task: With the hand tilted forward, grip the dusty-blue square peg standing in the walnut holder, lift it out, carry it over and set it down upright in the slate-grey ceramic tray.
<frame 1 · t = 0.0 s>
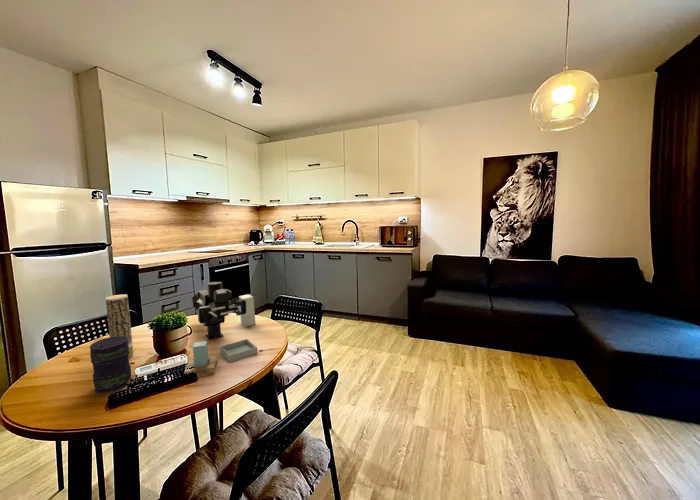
hand: (229, 315, 115), 17 cm above the table, tool horizontal, fingers open, 9 cm apart
dark grey cylinder: (113, 385, 97), on the table
peg: (201, 357, 105), in the holder
holder: (202, 370, 106), on the table
skincare box: (247, 324, 152), on the table
bark covered log: (123, 357, 117), on the table
tray: (238, 352, 119), on the table
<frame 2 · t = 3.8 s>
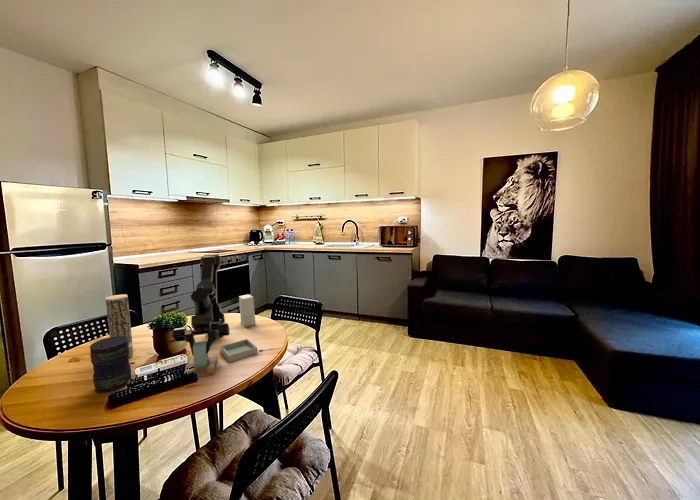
hand: (200, 354, 104), 7 cm above the table, tool tilted 45°, fingers closed on peg, 4 cm apart
peg: (201, 357, 105), in the holder, touching gripper
everything else where it was.
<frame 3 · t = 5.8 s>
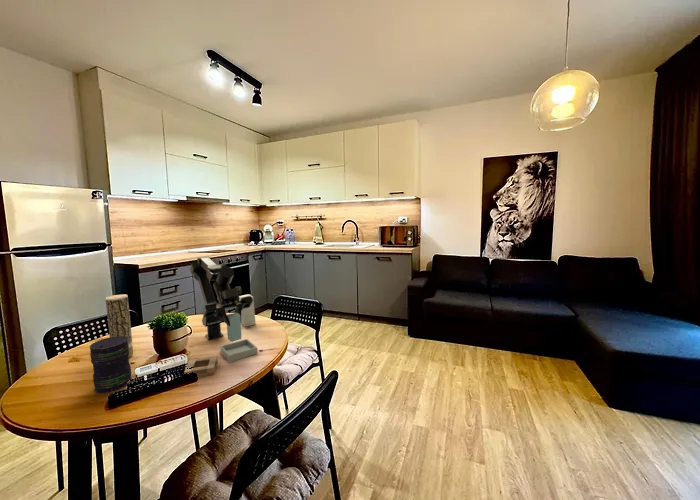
hand: (235, 324, 115), 13 cm above the table, tool tilted 45°, fingers closed on peg, 4 cm apart
peg: (233, 326, 116), point 12 cm above the table, touching gripper
everything else where it was.
when the fingers open (8 cm above the table, at t = 7.6 s): peg stays where it is, resting on tray.
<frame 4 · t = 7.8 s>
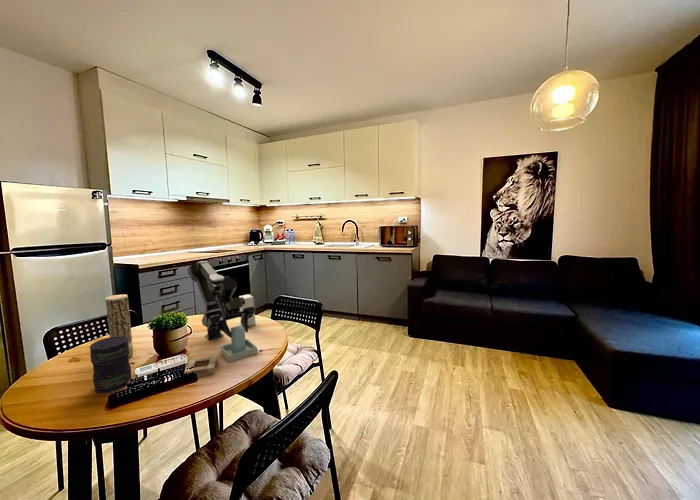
hand: (239, 334, 117), 8 cm above the table, tool tilted 45°, fingers open, 6 cm apart
peg: (238, 339, 118), in the tray, point 6 cm above the table
everything else where it was.
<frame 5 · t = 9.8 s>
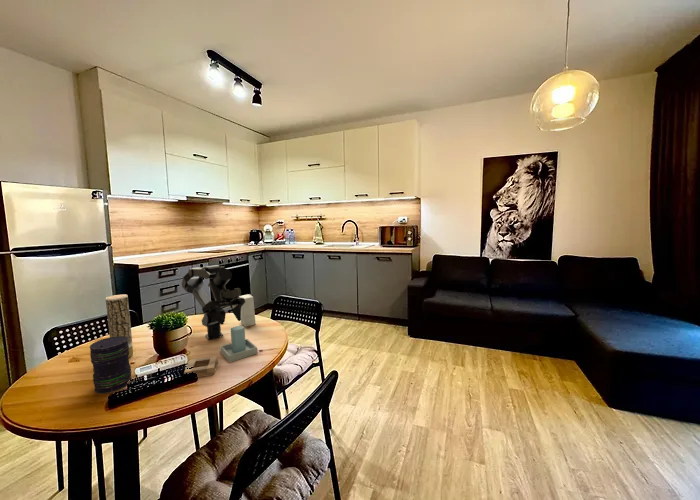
hand: (231, 322, 125), 10 cm above the table, tool tilted 35°, fingers open, 9 cm apart
nothing on the table moved.
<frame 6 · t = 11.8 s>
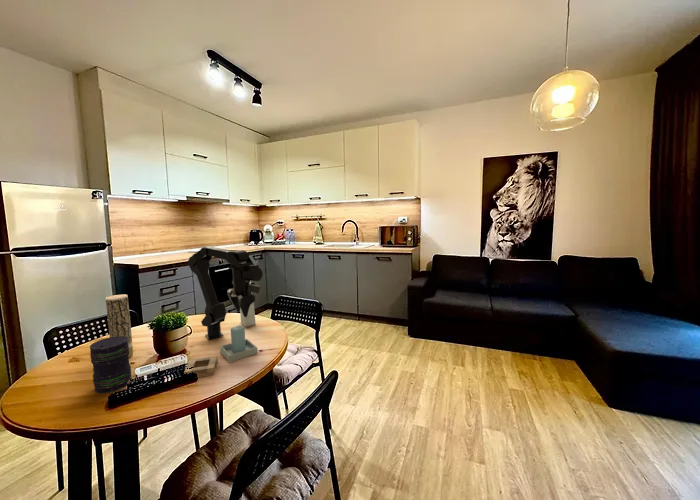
hand: (241, 314, 128), 13 cm above the table, tool pointing down, fingers open, 9 cm apart
nothing on the table moved.
at the end: peg inside the target area on the tray (0.0 cm from its centre), point 5.6 cm above the tray's base; peg tilted 0°; the gripper is holding nothing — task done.
